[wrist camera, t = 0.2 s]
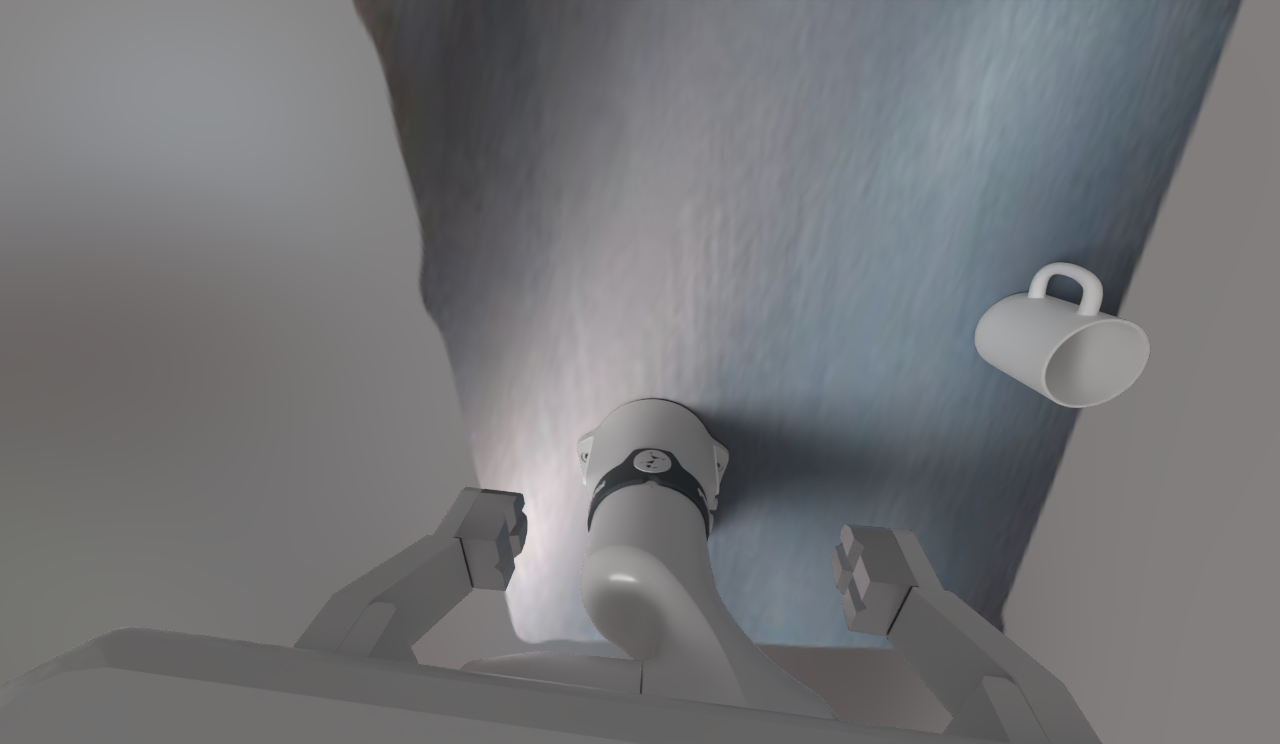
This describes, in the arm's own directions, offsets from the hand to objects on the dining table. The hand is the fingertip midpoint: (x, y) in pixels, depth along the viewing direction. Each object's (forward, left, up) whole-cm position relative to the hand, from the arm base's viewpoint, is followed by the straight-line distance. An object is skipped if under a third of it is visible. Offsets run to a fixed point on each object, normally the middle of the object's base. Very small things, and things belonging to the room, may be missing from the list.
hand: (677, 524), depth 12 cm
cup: (-3, -36, -39) cm, 54 cm away
